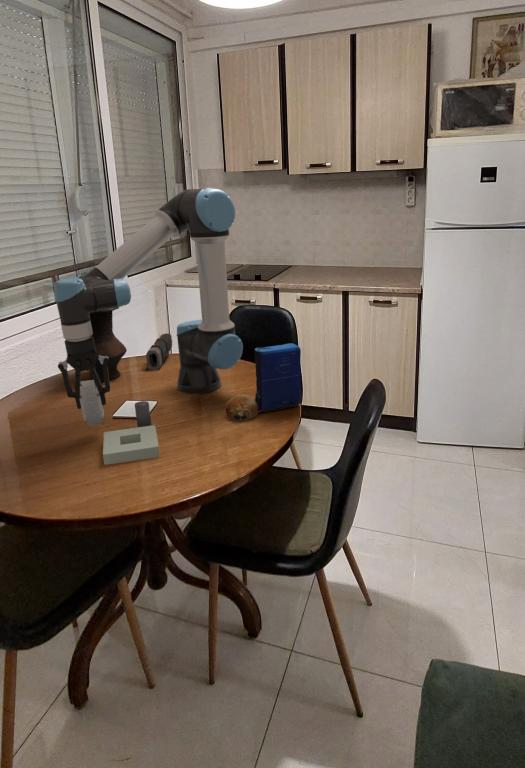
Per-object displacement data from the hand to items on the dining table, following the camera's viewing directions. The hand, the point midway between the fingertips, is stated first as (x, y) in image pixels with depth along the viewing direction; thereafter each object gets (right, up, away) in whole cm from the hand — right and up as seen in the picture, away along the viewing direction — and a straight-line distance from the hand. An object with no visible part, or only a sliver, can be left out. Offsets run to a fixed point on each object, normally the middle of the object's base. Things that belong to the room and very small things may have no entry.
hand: (94, 416), depth 157 cm
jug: (-12, +11, +50) cm, 52 cm away
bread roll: (+41, 0, +11) cm, 43 cm away
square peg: (0, -2, +1) cm, 2 cm away
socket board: (+12, -8, -7) cm, 17 cm away
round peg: (+13, -4, +5) cm, 15 cm away
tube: (+7, +19, +69) cm, 72 cm away
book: (+52, +2, +14) cm, 54 cm away
